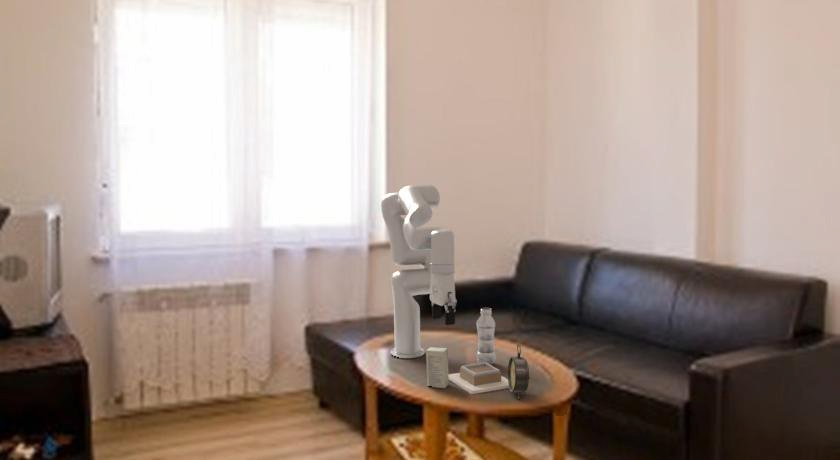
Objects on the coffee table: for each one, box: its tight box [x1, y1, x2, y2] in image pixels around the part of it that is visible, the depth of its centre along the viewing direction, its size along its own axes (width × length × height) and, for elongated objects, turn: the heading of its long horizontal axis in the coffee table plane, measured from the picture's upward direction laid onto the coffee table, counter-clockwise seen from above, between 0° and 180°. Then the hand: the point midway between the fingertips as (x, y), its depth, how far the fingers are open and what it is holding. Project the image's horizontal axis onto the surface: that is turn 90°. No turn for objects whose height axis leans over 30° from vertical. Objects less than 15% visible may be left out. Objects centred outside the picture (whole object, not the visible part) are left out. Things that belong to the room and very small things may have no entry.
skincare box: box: [425, 346, 450, 389], centre depth 242 cm, size 6×4×12 cm
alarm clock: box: [507, 343, 530, 398], centre depth 232 cm, size 11×5×16 cm, turn 5°
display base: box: [448, 362, 509, 395], centre depth 246 cm, size 18×16×5 cm
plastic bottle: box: [476, 307, 497, 366], centre depth 264 cm, size 6×7×20 cm
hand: (443, 321), depth 241 cm, fingers open, 9 cm apart
